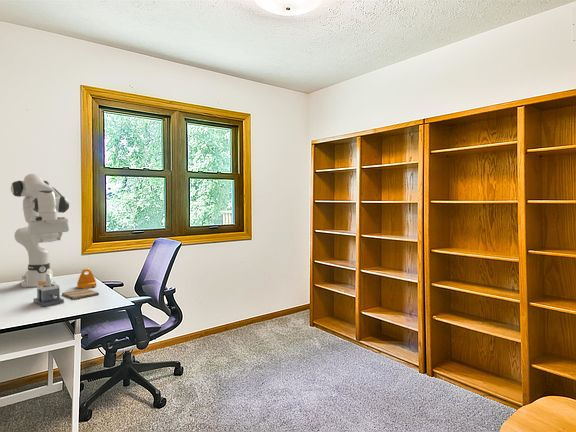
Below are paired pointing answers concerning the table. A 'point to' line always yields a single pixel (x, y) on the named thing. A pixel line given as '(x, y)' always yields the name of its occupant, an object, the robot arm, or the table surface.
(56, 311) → the table surface
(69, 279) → the table surface
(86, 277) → the orange rounded piece
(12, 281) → the table surface
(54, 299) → the vise
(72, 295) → the board
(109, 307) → the table surface
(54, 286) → the loop
